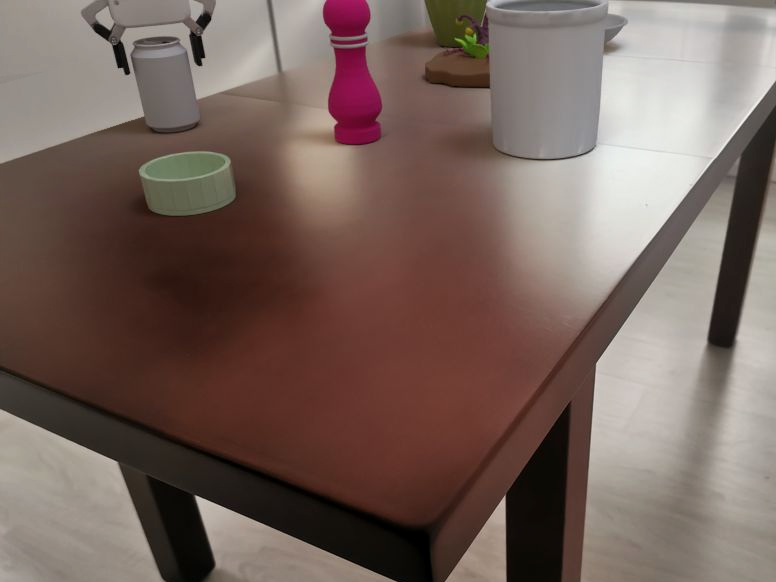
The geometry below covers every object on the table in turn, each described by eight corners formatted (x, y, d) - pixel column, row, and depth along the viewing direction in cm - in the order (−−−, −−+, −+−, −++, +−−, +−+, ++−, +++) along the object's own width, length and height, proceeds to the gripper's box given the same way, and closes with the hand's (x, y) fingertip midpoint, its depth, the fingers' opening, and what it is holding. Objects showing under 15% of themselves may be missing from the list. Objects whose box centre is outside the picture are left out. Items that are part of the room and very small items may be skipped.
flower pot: (436, 34, 170) (433, -50, 161) (503, 38, 165) (504, -49, 157) (408, 49, 158) (403, -41, 149) (480, 53, 154) (479, -40, 145)
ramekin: (152, 222, 86) (143, 186, 84) (143, 192, 94) (134, 159, 92) (244, 206, 90) (237, 171, 88) (227, 178, 97) (221, 146, 95)
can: (208, 127, 116) (191, 39, 109) (156, 137, 112) (135, 47, 106) (191, 116, 121) (174, 31, 115) (141, 125, 118) (120, 38, 111)
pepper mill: (336, 130, 113) (319, -26, 103) (387, 129, 113) (376, -27, 103) (327, 146, 107) (308, -18, 97) (381, 145, 107) (368, -19, 96)
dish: (617, 60, 146) (619, 31, 144) (540, 56, 150) (541, 28, 148) (632, 40, 160) (634, 13, 158) (561, 37, 164) (562, 11, 162)
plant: (521, 92, 128) (522, 17, 122) (410, 83, 135) (406, 12, 129) (557, 64, 144) (559, -3, 138) (456, 58, 150) (454, -7, 145)
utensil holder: (464, 148, 105) (461, 4, 96) (527, 120, 115) (529, -13, 106) (560, 169, 98) (567, 15, 88) (619, 138, 108) (631, -4, 98)
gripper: (197, -75, 109) (221, 56, 118) (59, -67, 103) (96, 71, 112) (206, -72, 103) (230, 66, 112) (60, -62, 98) (99, 82, 107)
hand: (163, 68), depth 112 cm, fingers open, 9 cm apart
